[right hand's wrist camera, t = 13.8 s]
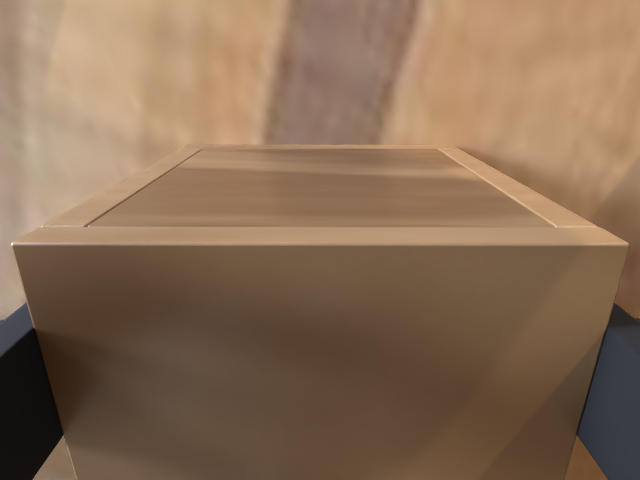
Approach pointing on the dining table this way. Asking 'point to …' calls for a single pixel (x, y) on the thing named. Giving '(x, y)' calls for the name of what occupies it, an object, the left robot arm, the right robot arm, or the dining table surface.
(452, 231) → the cabinet
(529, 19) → the dining table surface
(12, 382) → the right robot arm
